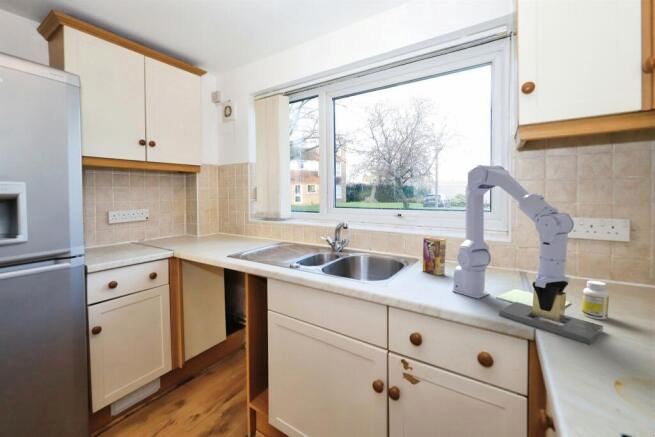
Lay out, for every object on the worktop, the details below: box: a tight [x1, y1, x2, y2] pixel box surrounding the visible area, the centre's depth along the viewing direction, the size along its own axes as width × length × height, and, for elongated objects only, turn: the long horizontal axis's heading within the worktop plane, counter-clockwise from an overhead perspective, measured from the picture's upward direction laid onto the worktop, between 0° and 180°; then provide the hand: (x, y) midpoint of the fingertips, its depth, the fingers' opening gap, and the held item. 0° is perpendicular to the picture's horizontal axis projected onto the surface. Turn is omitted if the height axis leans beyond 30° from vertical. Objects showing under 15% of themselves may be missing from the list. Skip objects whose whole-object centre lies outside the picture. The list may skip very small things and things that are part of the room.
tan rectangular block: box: [532, 288, 567, 323], centre depth 79 cm, size 6×4×7 cm, turn 35°
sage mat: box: [496, 288, 572, 308], centre depth 95 cm, size 16×14×1 cm
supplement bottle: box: [581, 280, 610, 320], centre depth 83 cm, size 5×5×10 cm
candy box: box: [422, 236, 447, 276], centre depth 128 cm, size 9×4×15 cm, turn 32°
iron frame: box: [498, 302, 604, 346], centre depth 79 cm, size 20×11×2 cm, turn 35°
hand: (548, 308), depth 79 cm, fingers closed on tan rectangular block, 4 cm apart
